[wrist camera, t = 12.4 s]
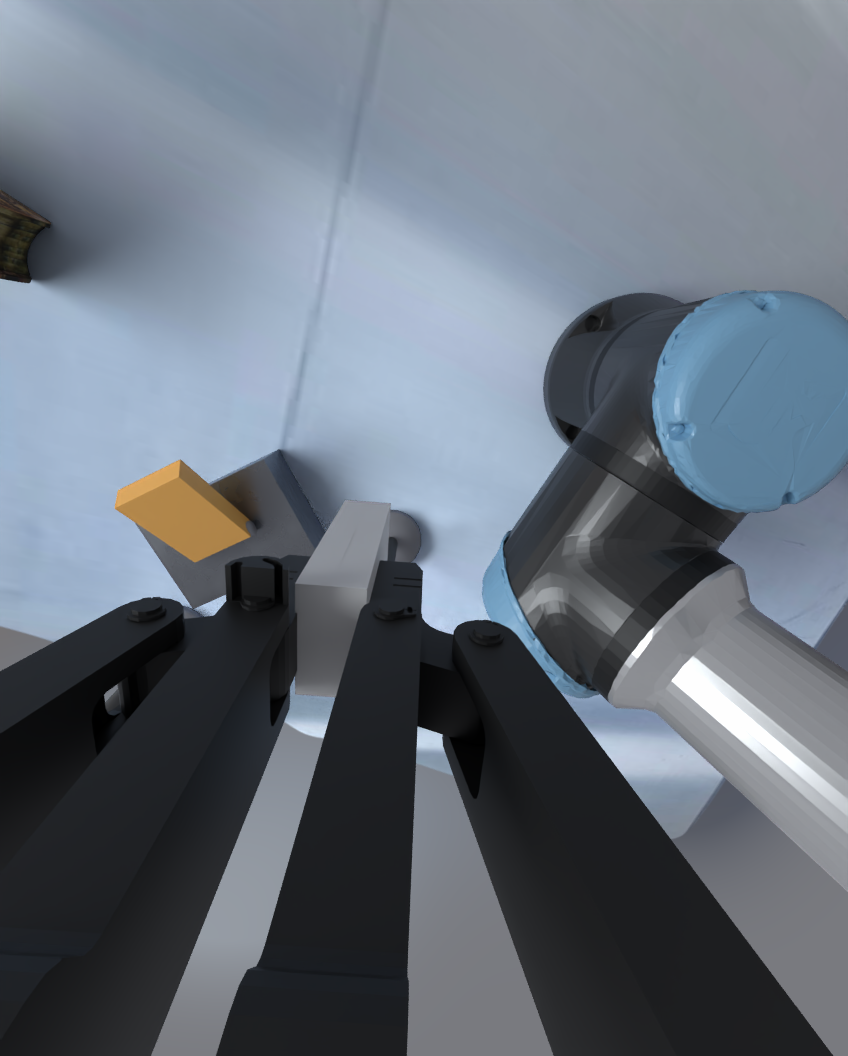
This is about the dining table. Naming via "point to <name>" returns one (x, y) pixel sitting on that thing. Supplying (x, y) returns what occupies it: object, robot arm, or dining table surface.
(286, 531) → the block
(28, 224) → the book
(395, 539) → the stand
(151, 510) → the orange rectangular prism
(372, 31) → the dining table surface
